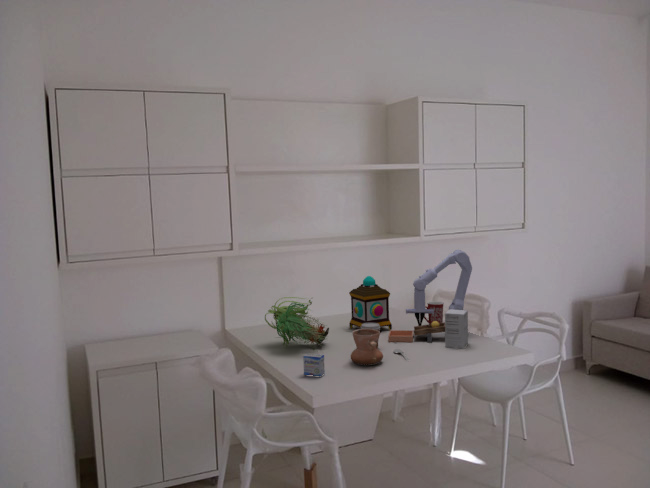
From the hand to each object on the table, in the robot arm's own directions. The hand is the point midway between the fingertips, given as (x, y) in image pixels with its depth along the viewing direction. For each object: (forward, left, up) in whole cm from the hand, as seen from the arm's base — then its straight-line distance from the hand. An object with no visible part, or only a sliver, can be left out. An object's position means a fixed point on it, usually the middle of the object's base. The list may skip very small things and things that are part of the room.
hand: (419, 327), depth 294 cm
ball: (-8, +8, +3) cm, 12 cm away
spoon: (+7, +39, -5) cm, 40 cm away
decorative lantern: (+27, -12, -5) cm, 30 cm away
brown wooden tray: (-5, +6, -1) cm, 8 cm away
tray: (+9, +8, -4) cm, 13 cm away
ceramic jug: (+23, +49, -5) cm, 55 cm away
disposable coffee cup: (+23, +27, -5) cm, 36 cm away
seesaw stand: (-5, +8, -4) cm, 11 cm away
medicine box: (+43, +68, -5) cm, 81 cm away
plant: (+57, +28, -5) cm, 64 cm away
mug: (-7, -19, -5) cm, 20 cm away
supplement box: (-18, +19, -5) cm, 27 cm away
